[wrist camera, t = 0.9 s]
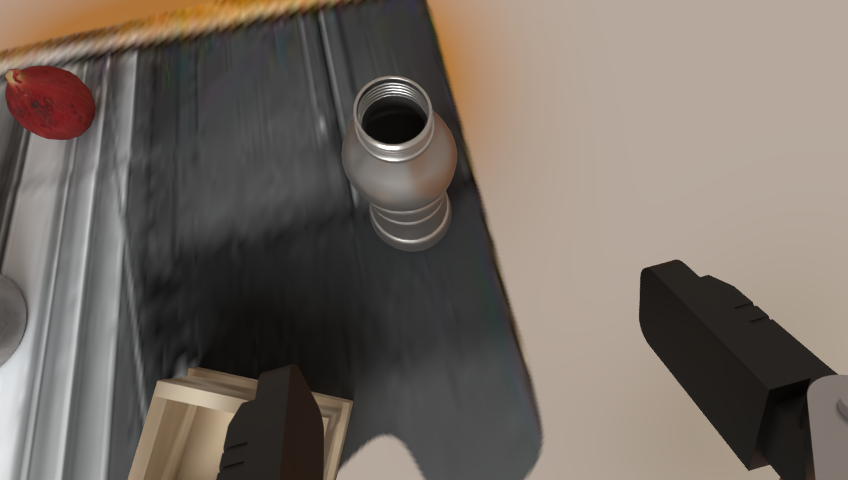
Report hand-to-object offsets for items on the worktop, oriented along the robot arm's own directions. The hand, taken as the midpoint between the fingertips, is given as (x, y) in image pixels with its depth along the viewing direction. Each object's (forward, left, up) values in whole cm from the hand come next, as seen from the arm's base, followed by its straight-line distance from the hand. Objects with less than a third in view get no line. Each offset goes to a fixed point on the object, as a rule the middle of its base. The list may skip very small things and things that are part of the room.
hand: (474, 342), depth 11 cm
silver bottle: (-5, +10, -29) cm, 31 cm away
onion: (-36, +13, -29) cm, 48 cm away
